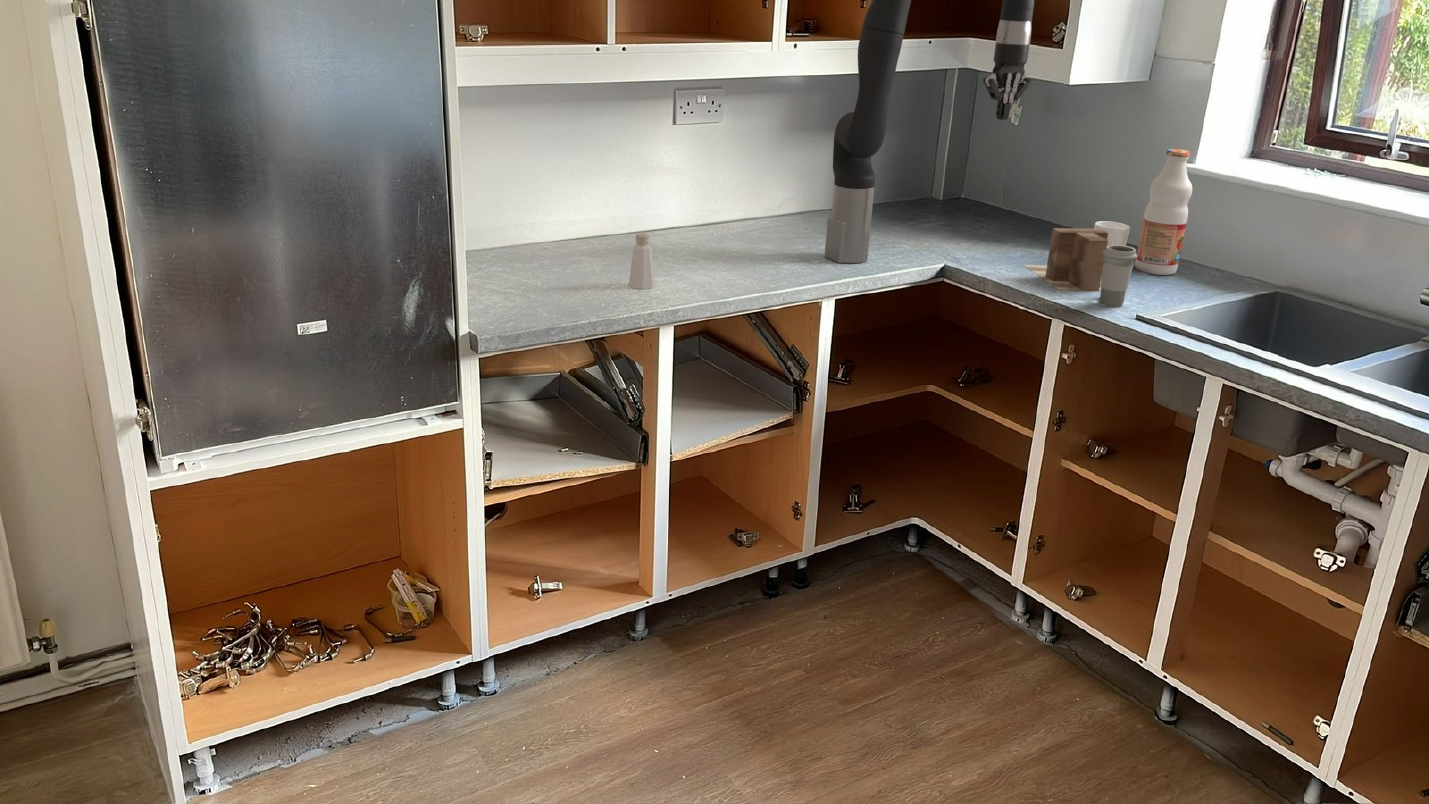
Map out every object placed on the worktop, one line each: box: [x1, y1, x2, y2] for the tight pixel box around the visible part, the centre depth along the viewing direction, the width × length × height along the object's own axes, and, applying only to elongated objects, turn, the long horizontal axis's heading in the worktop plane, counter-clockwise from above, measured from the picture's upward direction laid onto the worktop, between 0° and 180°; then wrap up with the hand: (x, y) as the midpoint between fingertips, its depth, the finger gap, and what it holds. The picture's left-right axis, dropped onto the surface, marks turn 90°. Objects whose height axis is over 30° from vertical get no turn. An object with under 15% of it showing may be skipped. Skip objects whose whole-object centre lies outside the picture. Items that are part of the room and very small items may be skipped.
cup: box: [1099, 245, 1137, 308], centre depth 229 cm, size 7×7×12 cm
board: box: [1023, 264, 1101, 292], centre depth 247 cm, size 21×13×1 cm, turn 8°
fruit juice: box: [1134, 148, 1193, 276], centre depth 254 cm, size 9×9×28 cm
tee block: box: [1045, 227, 1108, 290], centre depth 240 cm, size 11×11×11 cm
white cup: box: [1093, 220, 1131, 246], centre depth 259 cm, size 8×8×10 cm
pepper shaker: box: [628, 232, 656, 290], centre depth 227 cm, size 5×5×11 cm
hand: (1002, 119), depth 256 cm, fingers closed
